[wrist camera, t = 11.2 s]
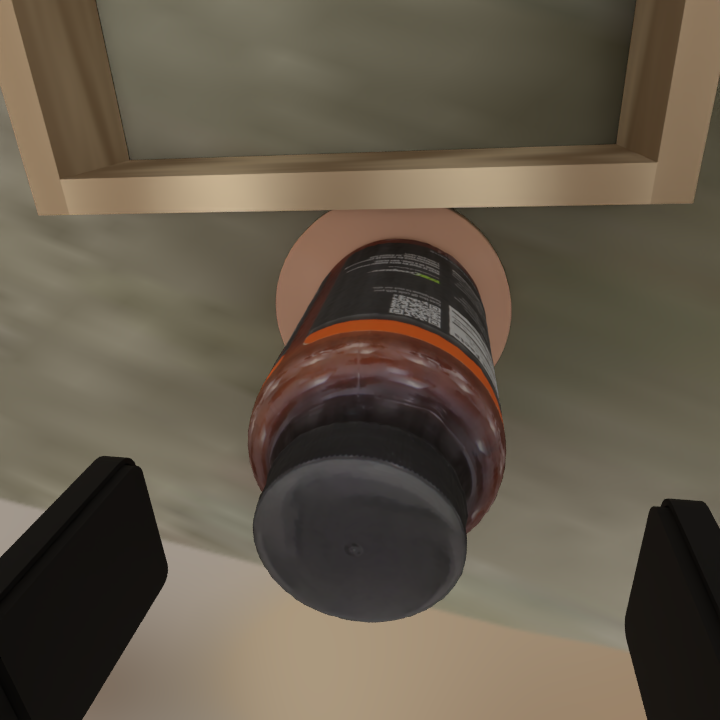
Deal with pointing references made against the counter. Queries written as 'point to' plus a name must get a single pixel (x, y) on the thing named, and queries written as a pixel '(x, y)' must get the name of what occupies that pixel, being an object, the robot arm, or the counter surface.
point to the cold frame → (350, 170)
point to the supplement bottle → (378, 436)
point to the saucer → (364, 226)
